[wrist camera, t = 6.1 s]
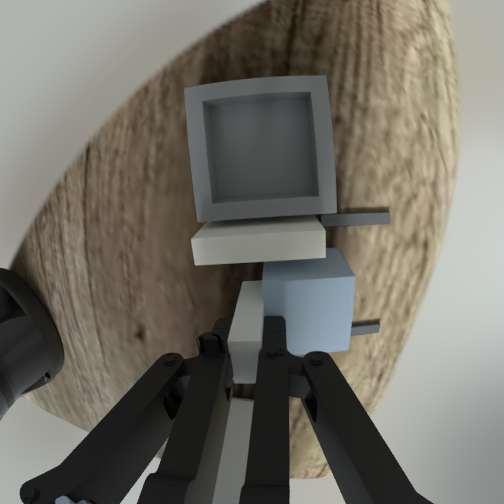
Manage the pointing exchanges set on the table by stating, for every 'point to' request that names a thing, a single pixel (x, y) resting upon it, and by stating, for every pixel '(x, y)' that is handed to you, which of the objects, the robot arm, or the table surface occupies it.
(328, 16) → the table surface
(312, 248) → the channel
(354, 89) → the table surface
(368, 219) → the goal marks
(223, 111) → the tray
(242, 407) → the electronic device
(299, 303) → the block
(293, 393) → the robot arm
